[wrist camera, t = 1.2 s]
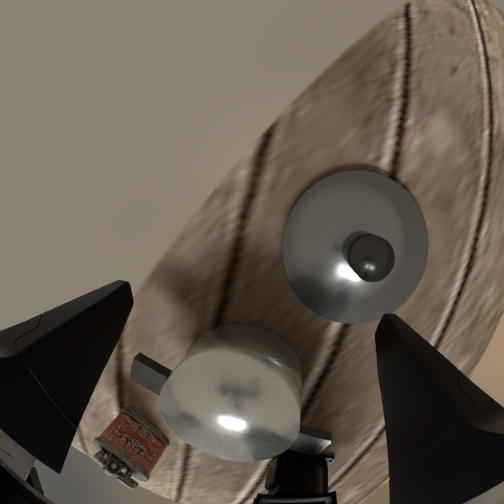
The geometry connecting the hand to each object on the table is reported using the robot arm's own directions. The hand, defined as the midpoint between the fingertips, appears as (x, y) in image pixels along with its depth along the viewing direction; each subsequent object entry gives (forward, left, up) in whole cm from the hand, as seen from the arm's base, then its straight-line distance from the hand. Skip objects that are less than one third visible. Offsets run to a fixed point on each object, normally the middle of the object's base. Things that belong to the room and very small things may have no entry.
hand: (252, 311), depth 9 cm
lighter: (+6, +29, -13) cm, 33 cm away
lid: (-6, -3, -14) cm, 15 cm away
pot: (-2, +12, -13) cm, 18 cm away
